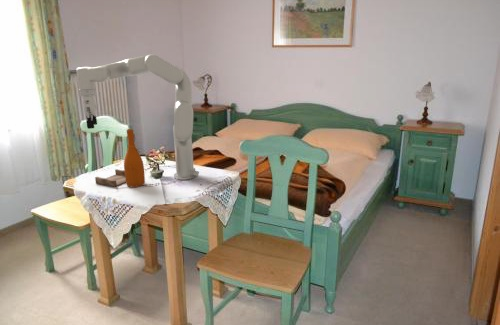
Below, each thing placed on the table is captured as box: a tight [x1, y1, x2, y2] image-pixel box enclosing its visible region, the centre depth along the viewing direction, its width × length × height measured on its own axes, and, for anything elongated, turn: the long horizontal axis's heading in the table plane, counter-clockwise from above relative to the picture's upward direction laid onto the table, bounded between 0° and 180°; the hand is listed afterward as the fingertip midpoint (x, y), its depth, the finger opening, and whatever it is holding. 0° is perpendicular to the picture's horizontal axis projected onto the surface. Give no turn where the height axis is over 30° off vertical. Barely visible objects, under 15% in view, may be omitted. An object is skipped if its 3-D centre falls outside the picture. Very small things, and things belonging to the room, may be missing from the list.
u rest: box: [94, 169, 126, 188], centre depth 210 cm, size 14×15×4 cm
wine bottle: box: [123, 128, 146, 188], centre depth 200 cm, size 10×10×30 cm
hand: (92, 126), depth 197 cm, fingers open, 9 cm apart
